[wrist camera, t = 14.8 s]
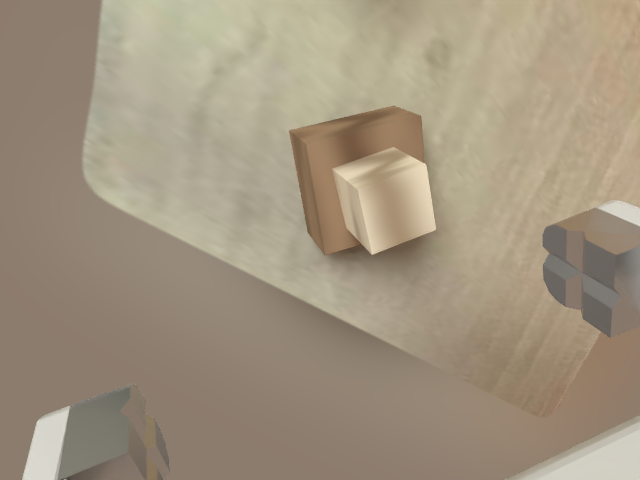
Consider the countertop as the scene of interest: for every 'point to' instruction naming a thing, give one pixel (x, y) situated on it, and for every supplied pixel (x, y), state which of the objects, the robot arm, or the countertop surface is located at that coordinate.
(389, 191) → the birch cube
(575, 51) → the countertop surface
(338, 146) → the walnut block
